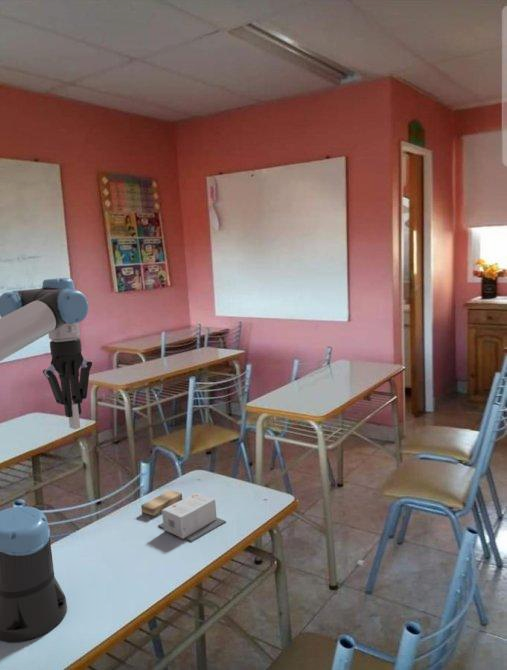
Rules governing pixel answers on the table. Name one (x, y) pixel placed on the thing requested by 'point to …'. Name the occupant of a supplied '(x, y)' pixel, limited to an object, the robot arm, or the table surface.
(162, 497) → the board eraser
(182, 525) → the small box
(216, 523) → the mat
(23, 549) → the robot arm
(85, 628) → the table surface
